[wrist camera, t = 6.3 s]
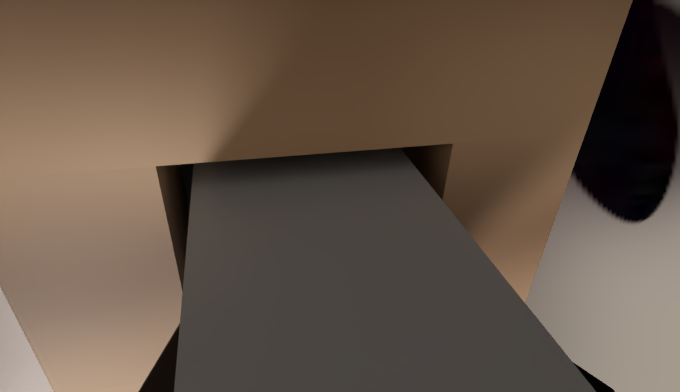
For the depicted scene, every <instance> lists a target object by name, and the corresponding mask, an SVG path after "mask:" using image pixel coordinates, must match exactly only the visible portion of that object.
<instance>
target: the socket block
mask: <svg viewBox="0 0 680 392" xmlns="http://www.w3.org/2000/svg"><path fill="white" fill-rule="evenodd" d="M631 3H632V0H0V287H1V289H2V291H3V293H4V295H5V296H6V298H7V300H8V302H9V304H10V306H11V308H12V310H13V312H14V314H15V316H16V318H17V320H18V322H19V324H20V326H21V328H22V330H23V332H24V334H25V336H26V338H27V340H28V342H29V344H30V346H31V348H32V350H33V351H34V353H35V355H36V357H37V359H38V361H39V363H40V365H41V367H42V369H43V371H44V373H45V375H46V377H47V379H48V381H49V383H50V385H51V387H52V389H53V391H54V392H138V391H139V390H140V388H141V386H142V385H143V383H144V381H145V380H146V378H147V376H148V375H149V373H150V371H151V370H152V368H153V366H154V365H155V363H156V361H157V360H158V358H159V356H160V355H161V353H162V352H163V350H164V348H165V347H166V345H167V343H168V342H169V340H170V338H171V337H172V335H173V333H174V332H175V330H176V328H177V327H178V325H179V324H180V316H181V304H182V293H183V281H184V270H185V258H186V246H187V235H188V223H189V212H190V200H191V188H192V177H193V165H194V163H205V162H218V161H231V160H244V159H257V158H270V157H284V156H297V155H310V154H323V153H336V152H349V151H362V150H375V149H388V148H401V150H402V151H403V152H404V153H405V155H406V156H407V157H408V158H409V160H410V161H411V162H412V163H413V165H414V166H415V167H416V168H417V169H418V171H419V172H420V173H421V174H422V176H423V177H424V178H425V179H426V181H427V182H428V183H429V184H430V186H431V187H432V188H433V189H434V191H435V192H436V193H437V194H438V196H439V197H440V198H441V199H442V201H443V202H444V203H445V204H446V206H447V207H448V208H449V209H450V211H451V212H452V213H453V214H454V216H455V217H456V218H457V219H458V220H459V222H460V223H461V224H462V225H463V227H464V228H465V229H466V230H467V232H468V233H469V234H470V235H471V237H472V238H473V239H474V240H475V242H476V243H477V244H478V245H479V247H480V248H481V249H482V250H483V252H484V253H485V254H486V255H487V257H488V258H489V259H490V260H491V262H492V263H493V264H494V265H495V266H496V268H497V269H498V270H499V271H500V273H501V274H502V275H503V276H504V278H505V279H506V280H507V281H508V283H509V284H510V285H511V286H512V288H513V289H514V290H515V291H516V293H517V294H518V295H519V296H520V298H521V299H522V300H523V301H524V303H525V301H526V299H527V296H528V293H529V290H530V288H531V285H532V282H533V279H534V276H535V273H536V271H537V268H538V265H539V262H540V259H541V257H542V254H543V251H544V248H545V245H546V243H547V240H548V237H549V234H550V231H551V228H552V225H553V223H554V220H555V217H556V214H557V212H558V209H559V206H560V203H561V200H562V197H563V194H564V191H565V189H566V186H567V183H568V181H569V178H570V175H571V172H572V169H573V167H574V164H575V161H576V158H577V155H578V152H579V150H580V147H581V144H582V141H583V138H584V136H585V133H586V130H587V127H588V124H589V121H590V119H591V116H592V113H593V110H594V107H595V105H596V102H597V99H598V96H599V93H600V90H601V88H602V85H603V82H604V79H605V76H606V74H607V71H608V68H609V65H610V62H611V60H612V57H613V54H614V51H615V48H616V45H617V43H618V40H619V37H620V34H621V31H622V29H623V26H624V23H625V20H626V17H627V14H628V12H629V9H630V6H631Z"/></svg>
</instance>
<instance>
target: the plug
mask: <svg viewBox="0 0 680 392" xmlns="http://www.w3.org/2000/svg"><path fill="white" fill-rule="evenodd" d="M174 392H596V391H595V390H594V388H593V387H592V386H591V385H590V383H589V382H588V381H587V380H586V378H585V377H584V376H583V375H582V373H581V372H580V371H579V370H578V368H577V367H576V366H575V365H574V364H573V362H572V361H571V360H570V359H569V357H568V356H567V355H566V354H565V352H564V351H563V350H562V349H561V347H560V346H559V345H558V344H557V342H556V341H555V340H554V339H553V337H552V336H551V335H550V334H549V332H548V331H547V330H546V329H545V327H544V326H543V325H542V324H541V323H540V321H539V320H538V319H537V317H536V316H535V315H534V314H533V313H532V311H531V310H530V309H529V308H528V306H527V305H526V304H525V303H524V301H523V300H522V299H521V298H520V296H519V295H518V294H517V293H516V291H515V290H514V289H513V288H512V286H511V285H510V284H509V283H508V281H507V280H506V279H505V278H504V276H503V275H502V274H501V273H500V271H499V270H498V269H497V268H496V266H495V265H494V264H493V263H492V262H491V260H490V259H489V258H488V257H487V255H486V254H485V253H484V252H483V250H482V249H481V248H480V247H479V245H478V244H477V243H476V242H475V240H474V239H473V238H472V237H471V235H470V234H469V233H468V232H467V230H466V229H465V228H464V227H463V225H462V224H461V223H460V222H459V220H458V219H457V218H456V217H455V216H454V214H453V213H452V212H451V211H450V209H449V208H448V207H447V206H446V204H445V203H444V202H443V201H442V199H441V198H440V197H439V196H438V194H437V193H436V192H435V191H434V189H433V188H432V187H431V186H430V184H429V183H428V182H427V181H426V179H425V178H424V177H423V176H422V174H421V173H420V172H419V171H418V169H417V168H416V167H415V166H414V165H413V163H412V162H411V161H410V160H409V158H408V157H407V156H406V155H405V153H404V152H403V151H402V150H401V148H388V149H375V150H362V151H349V152H336V153H323V154H310V155H297V156H284V157H270V158H257V159H244V160H231V161H218V162H205V163H194V165H193V177H192V188H191V200H190V212H189V223H188V235H187V246H186V258H185V270H184V281H183V293H182V304H181V316H180V328H179V339H178V351H177V362H176V374H175V386H174Z"/></svg>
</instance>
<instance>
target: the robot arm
mask: <svg viewBox="0 0 680 392" xmlns="http://www.w3.org/2000/svg"><path fill="white" fill-rule="evenodd" d="M179 328H180V324H179V325H178V327H177V328H176V330H175V332H174V333H173V335H172V337H171V338H170V340H169V342H168V343H167V345H166V347H165V348H164V350H163V352H162V353H161V355H160V356H159V358H158V360H157V361H156V363H155V365H154V366H153V368H152V370H151V371H150V373H149V375H148V376H147V378H146V380H145V381H144V383H143V385H142V386H141V388H140V390H139V391H138V392H174V386H175V374H176V362H177V351H178V339H179ZM573 364H574V365H575V366H576V367H577V368H578V370H579V371H580V372H581V373H582V375H583V376H584V377H585V378H586V380H587V381H588V382H589V383H590V385H591V386H592V387H593V388H594V390H595V391H596V392H615V391H614V390H613V389H612V388H610V387H609V386H607V385H606V384H604V383H603V382H602V381H600V380H598V379H597V378H596V377H594V376H593V375H591V374H589V373H588V372H587V371H585V370H584V369H582V368H581V367H579V366H578V365H576V364H575V363H573Z"/></svg>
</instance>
